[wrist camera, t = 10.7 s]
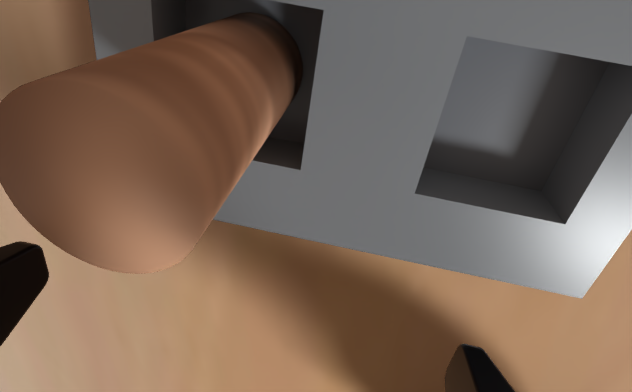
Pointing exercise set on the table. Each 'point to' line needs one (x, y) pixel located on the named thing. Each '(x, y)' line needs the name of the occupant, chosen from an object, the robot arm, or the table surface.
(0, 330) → the robot arm
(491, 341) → the table surface
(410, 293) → the table surface
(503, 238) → the hole board
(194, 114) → the pin
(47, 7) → the table surface
